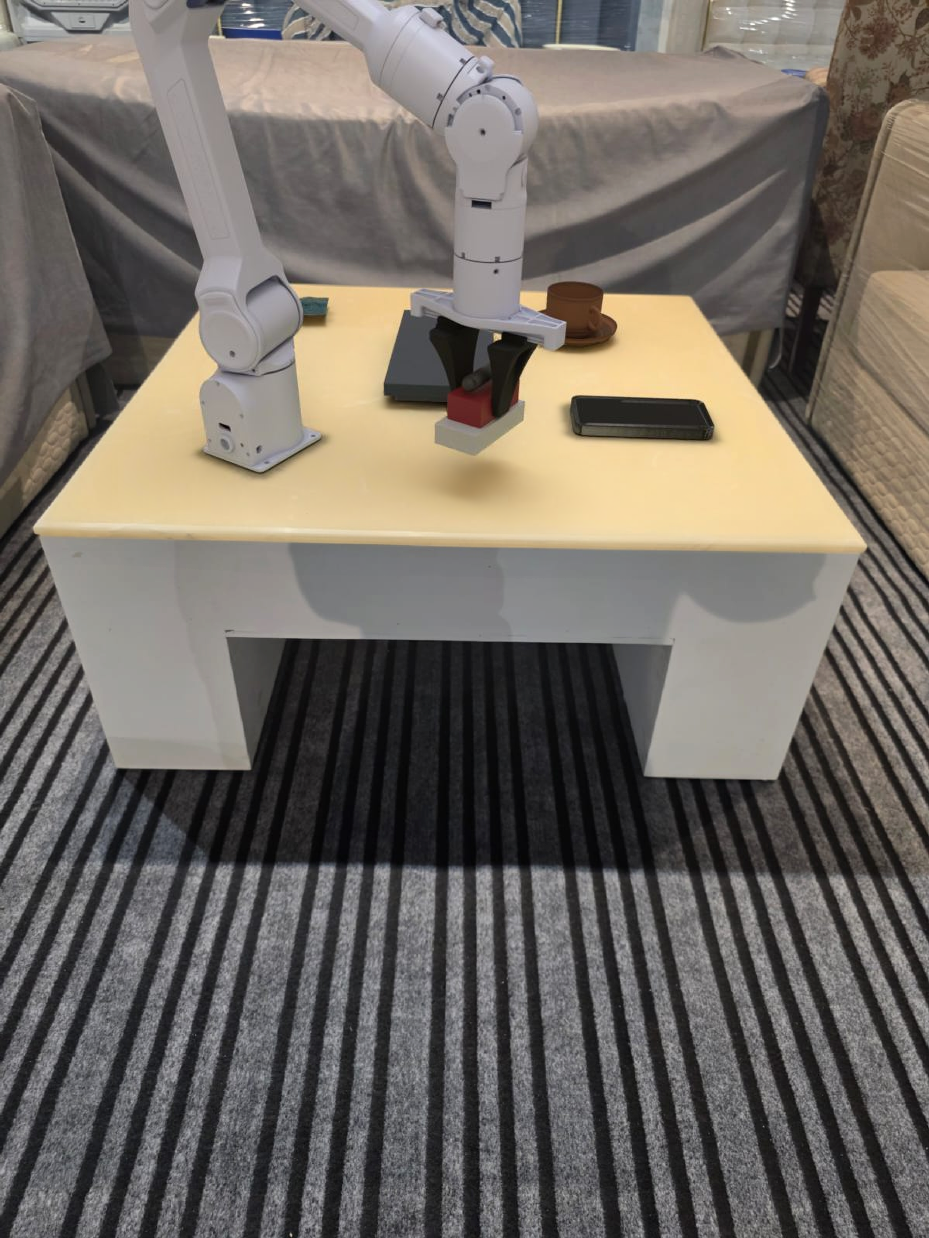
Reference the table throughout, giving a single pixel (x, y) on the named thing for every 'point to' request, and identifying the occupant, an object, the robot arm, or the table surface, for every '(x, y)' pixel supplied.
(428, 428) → the table surface
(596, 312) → the cup and saucer
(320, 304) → the terrain model
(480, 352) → the grey base platform
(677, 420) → the phone
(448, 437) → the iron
